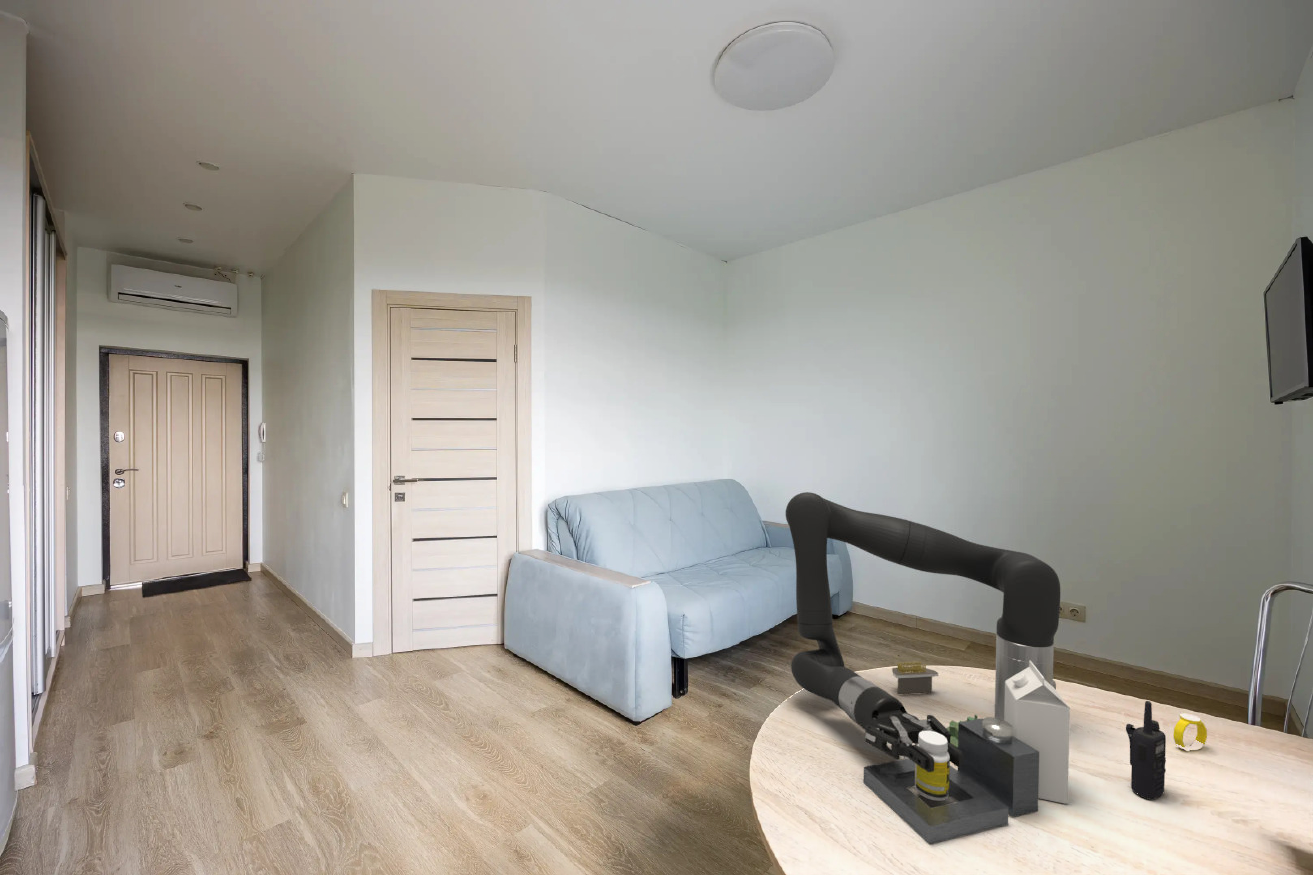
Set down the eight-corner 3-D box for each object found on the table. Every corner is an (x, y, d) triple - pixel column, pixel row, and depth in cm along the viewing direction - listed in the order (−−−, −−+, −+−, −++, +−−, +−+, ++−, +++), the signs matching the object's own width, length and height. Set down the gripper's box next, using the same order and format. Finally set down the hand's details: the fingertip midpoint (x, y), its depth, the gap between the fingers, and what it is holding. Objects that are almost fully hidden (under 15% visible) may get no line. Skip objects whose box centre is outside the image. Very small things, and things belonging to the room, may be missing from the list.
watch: (1186, 756, 99) (1185, 723, 99) (1169, 747, 102) (1168, 715, 101) (1212, 750, 100) (1211, 718, 100) (1194, 742, 103) (1193, 710, 103)
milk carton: (1052, 778, 91) (1055, 663, 91) (1068, 805, 85) (1070, 681, 85) (1002, 768, 94) (1005, 657, 94) (1014, 794, 87) (1016, 674, 87)
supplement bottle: (953, 804, 82) (954, 748, 82) (919, 799, 83) (920, 743, 83) (943, 783, 87) (944, 730, 87) (911, 779, 88) (912, 727, 88)
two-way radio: (1152, 804, 85) (1154, 707, 85) (1117, 787, 89) (1119, 694, 89) (1168, 793, 88) (1171, 699, 88) (1134, 778, 92) (1136, 687, 92)
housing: (966, 761, 96) (967, 698, 96) (1044, 815, 82) (1046, 741, 82) (863, 782, 90) (864, 714, 89) (929, 844, 76) (931, 764, 76)
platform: (860, 683, 126) (860, 654, 126) (932, 679, 129) (933, 651, 129) (889, 709, 114) (890, 677, 114) (968, 704, 117) (969, 673, 117)
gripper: (836, 690, 96) (907, 745, 80) (904, 681, 101) (985, 731, 84) (835, 733, 97) (906, 796, 80) (903, 722, 101) (983, 779, 84)
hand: (946, 762), depth 82 cm, fingers closed on supplement bottle, 4 cm apart
